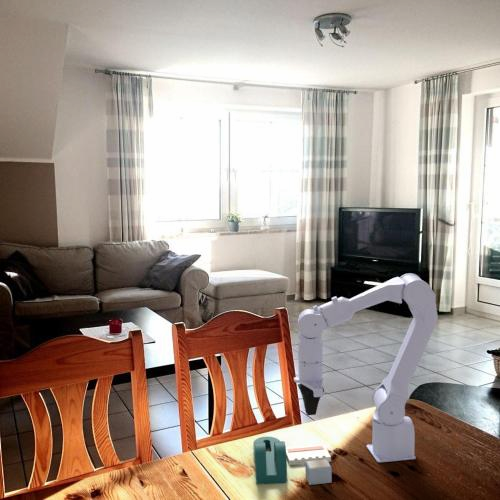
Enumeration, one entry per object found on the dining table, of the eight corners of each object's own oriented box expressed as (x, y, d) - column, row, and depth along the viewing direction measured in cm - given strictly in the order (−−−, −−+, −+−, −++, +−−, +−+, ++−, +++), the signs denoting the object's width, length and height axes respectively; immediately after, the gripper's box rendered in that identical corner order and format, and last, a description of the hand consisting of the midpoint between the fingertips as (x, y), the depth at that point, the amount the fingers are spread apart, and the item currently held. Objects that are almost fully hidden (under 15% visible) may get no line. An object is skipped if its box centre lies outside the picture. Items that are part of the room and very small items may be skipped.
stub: (327, 474, 123) (327, 458, 123) (331, 482, 120) (331, 466, 119) (305, 476, 122) (305, 460, 122) (309, 484, 119) (309, 468, 118)
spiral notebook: (323, 448, 135) (323, 443, 134) (330, 461, 129) (330, 455, 129) (284, 452, 133) (284, 447, 133) (289, 465, 127) (289, 459, 127)
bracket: (287, 484, 120) (286, 450, 119) (256, 485, 120) (255, 451, 119) (279, 444, 138) (279, 415, 137) (252, 445, 138) (252, 415, 137)
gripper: (287, 351, 137) (288, 403, 138) (301, 371, 122) (301, 428, 124) (314, 349, 138) (315, 400, 139) (331, 369, 123) (331, 426, 125)
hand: (310, 413), depth 132 cm, fingers closed
